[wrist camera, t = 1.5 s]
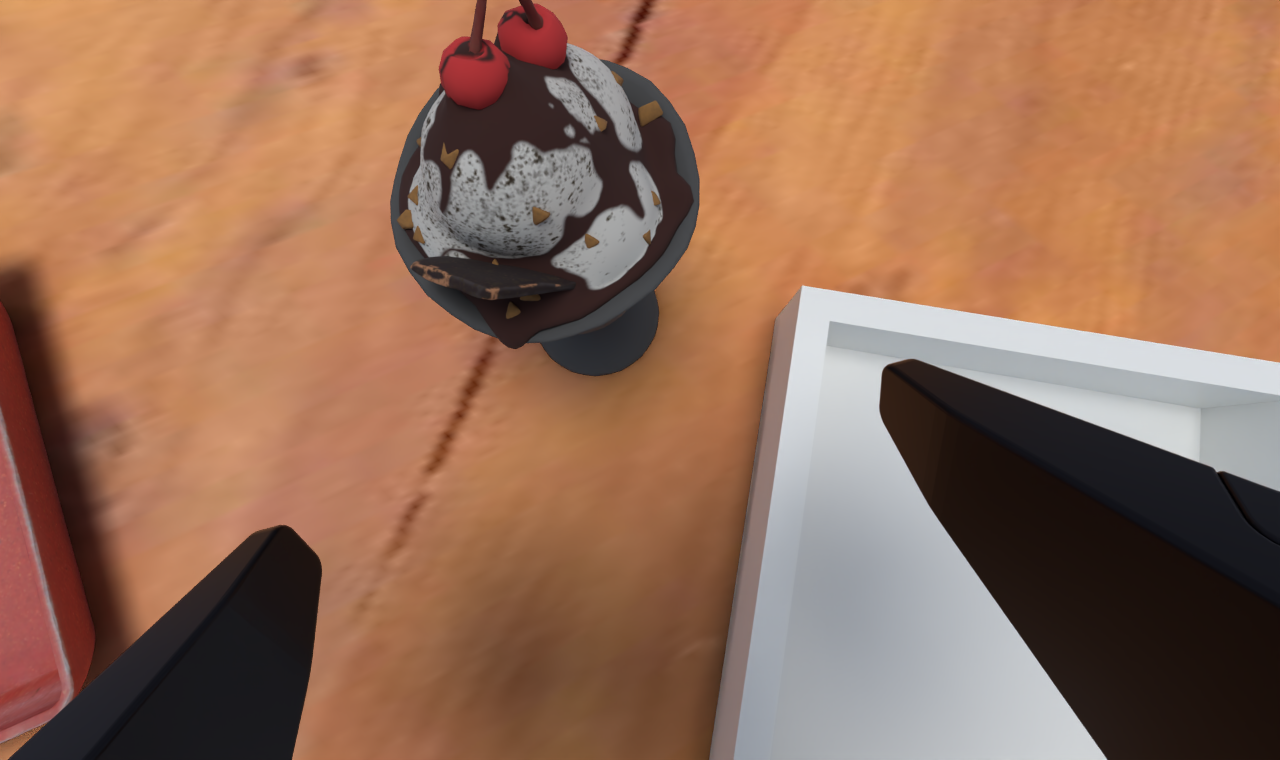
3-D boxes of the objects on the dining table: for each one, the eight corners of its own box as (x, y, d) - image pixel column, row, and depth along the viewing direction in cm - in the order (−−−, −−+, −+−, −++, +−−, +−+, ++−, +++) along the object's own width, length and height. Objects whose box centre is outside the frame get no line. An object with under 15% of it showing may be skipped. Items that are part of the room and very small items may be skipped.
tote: (1185, 928, 18) (1337, 1062, 14) (699, 819, 19) (710, 915, 15) (1203, 389, 20) (1335, 372, 16) (775, 318, 21) (802, 285, 17)
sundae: (616, 203, 22) (530, -321, 7) (713, 334, 21) (838, 35, 6) (481, 293, 22) (103, -67, 7) (573, 430, 21) (360, 352, 6)
